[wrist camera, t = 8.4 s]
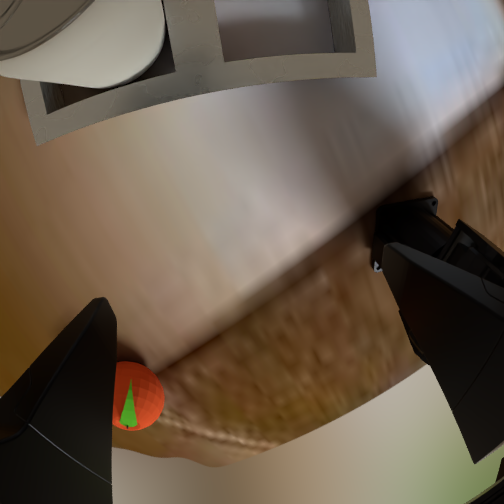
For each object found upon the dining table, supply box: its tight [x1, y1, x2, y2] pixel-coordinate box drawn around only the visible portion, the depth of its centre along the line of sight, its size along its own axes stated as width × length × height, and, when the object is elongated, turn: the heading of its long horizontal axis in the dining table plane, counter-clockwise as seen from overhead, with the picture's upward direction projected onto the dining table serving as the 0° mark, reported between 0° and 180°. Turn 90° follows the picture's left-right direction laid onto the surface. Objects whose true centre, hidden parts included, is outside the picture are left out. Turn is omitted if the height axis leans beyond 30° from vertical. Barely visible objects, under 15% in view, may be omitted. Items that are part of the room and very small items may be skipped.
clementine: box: [112, 361, 164, 430], centre depth 26 cm, size 8×7×7 cm
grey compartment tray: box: [20, 0, 377, 146], centre depth 13 cm, size 20×10×3 cm, turn 98°
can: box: [0, 0, 166, 89], centre depth 9 cm, size 6×6×12 cm
